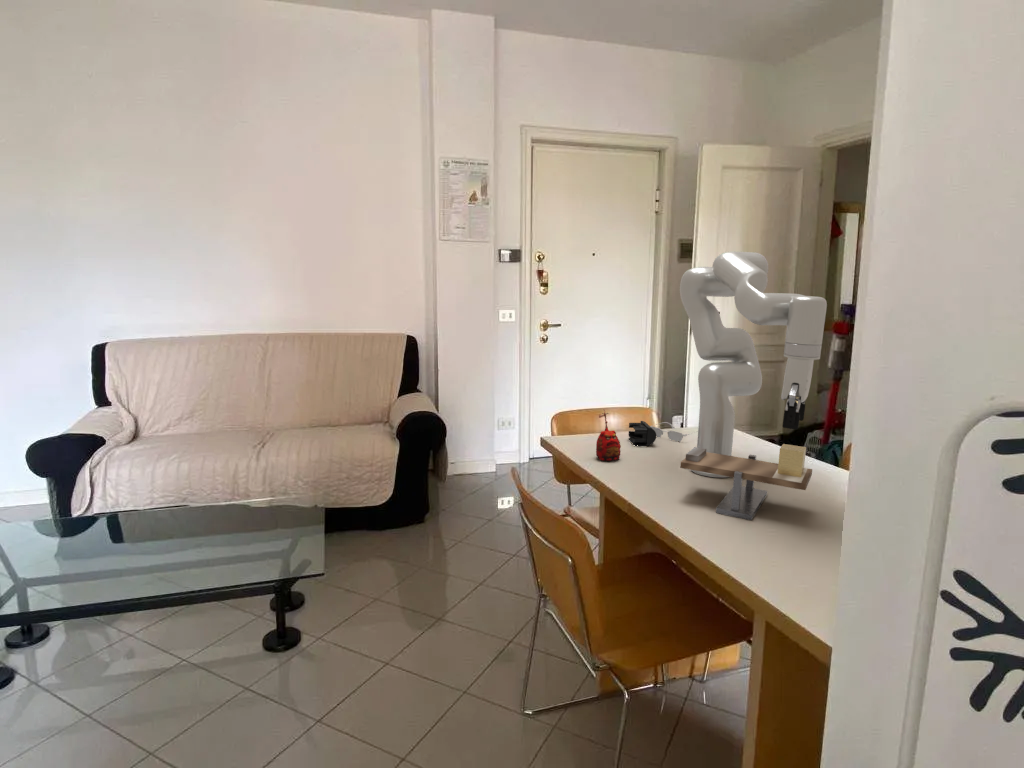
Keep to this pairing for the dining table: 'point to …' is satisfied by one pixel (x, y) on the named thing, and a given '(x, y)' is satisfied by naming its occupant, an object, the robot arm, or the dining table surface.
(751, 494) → the beam stand
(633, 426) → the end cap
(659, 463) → the dining table surface
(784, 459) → the tan wooden cube
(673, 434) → the eyeglasses
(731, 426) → the robot arm
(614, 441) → the red clay folk toy
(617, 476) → the dining table surface
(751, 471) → the balance beam
